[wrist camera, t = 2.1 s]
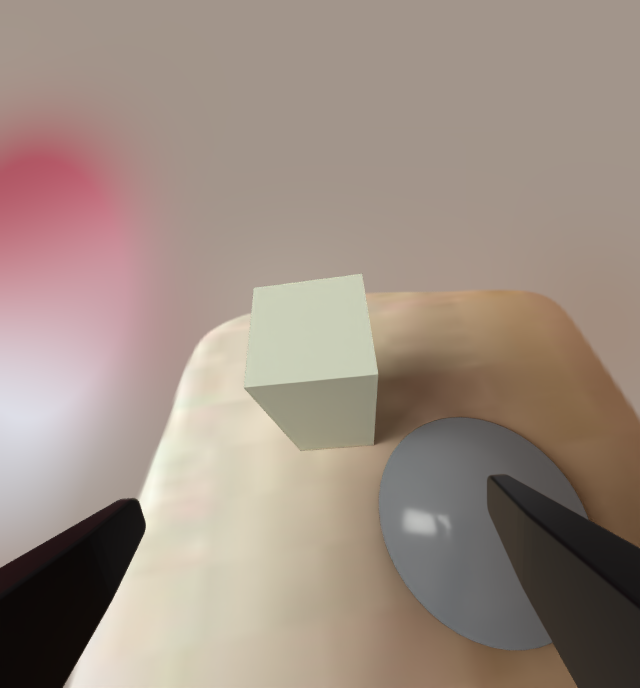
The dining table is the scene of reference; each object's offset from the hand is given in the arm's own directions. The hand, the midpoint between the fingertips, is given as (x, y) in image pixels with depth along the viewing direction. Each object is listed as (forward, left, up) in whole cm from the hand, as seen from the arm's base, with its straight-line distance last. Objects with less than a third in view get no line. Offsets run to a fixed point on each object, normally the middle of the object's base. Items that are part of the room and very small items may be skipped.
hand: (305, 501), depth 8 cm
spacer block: (+6, +1, -12) cm, 14 cm away
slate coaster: (+1, -8, -12) cm, 15 cm away
